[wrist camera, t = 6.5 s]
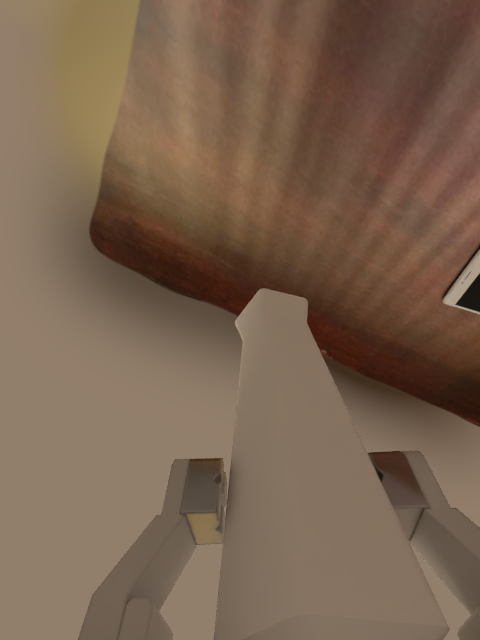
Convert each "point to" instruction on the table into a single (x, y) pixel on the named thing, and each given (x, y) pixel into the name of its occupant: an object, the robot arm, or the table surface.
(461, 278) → the smartphone
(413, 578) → the perfume bottle
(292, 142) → the table surface
